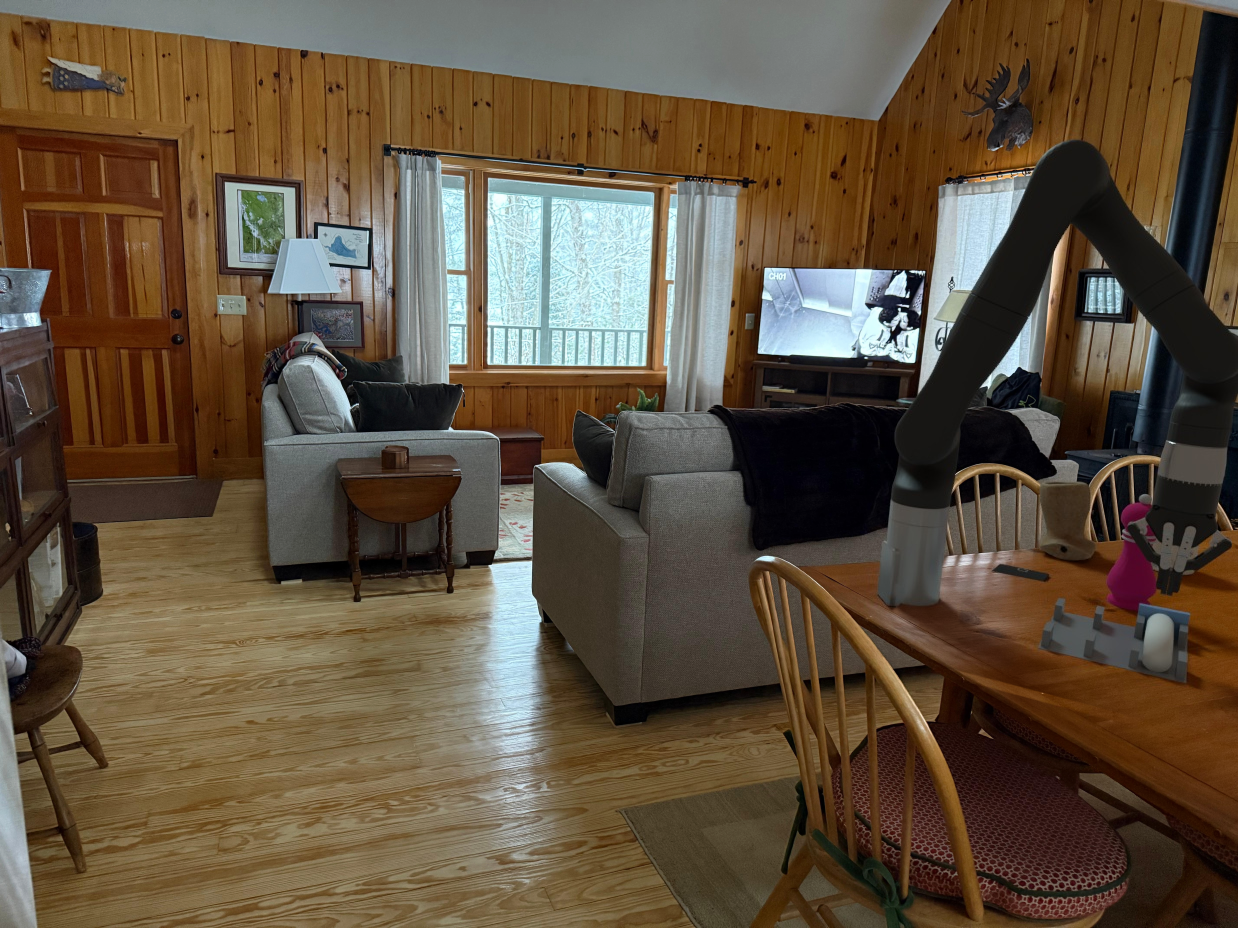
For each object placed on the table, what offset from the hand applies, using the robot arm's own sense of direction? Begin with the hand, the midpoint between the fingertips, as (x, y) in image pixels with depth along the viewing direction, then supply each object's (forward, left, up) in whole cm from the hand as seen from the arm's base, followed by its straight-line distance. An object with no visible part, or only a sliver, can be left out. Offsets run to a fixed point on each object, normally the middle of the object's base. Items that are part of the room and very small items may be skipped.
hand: (1166, 593), depth 119 cm
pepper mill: (+8, +21, -10) cm, 24 cm away
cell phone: (-6, +33, -11) cm, 35 cm away
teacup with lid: (+30, +44, -10) cm, 54 cm away
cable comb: (-4, +3, -10) cm, 11 cm away
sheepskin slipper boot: (+14, +54, -10) cm, 56 cm away
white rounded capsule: (0, 0, -9) cm, 9 cm away
